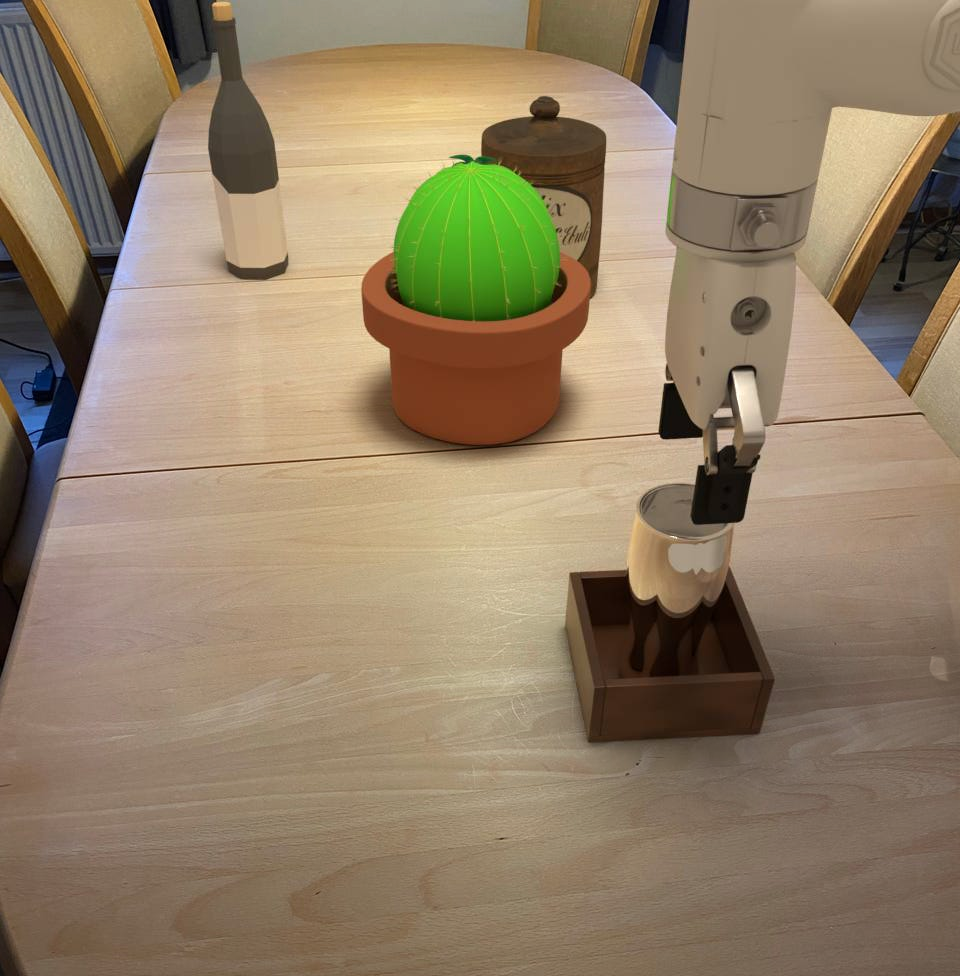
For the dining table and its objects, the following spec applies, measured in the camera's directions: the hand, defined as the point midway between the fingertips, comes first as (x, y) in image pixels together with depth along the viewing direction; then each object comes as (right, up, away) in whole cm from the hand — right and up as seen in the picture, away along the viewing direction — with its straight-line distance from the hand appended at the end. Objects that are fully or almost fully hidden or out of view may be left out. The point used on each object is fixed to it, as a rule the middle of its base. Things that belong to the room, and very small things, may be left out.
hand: (698, 476), depth 67 cm
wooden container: (-7, +34, +64) cm, 73 cm away
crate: (-1, -13, +12) cm, 18 cm away
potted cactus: (-15, +14, +43) cm, 47 cm away
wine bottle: (-43, +38, +68) cm, 89 cm away
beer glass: (-1, -13, +12) cm, 18 cm away
